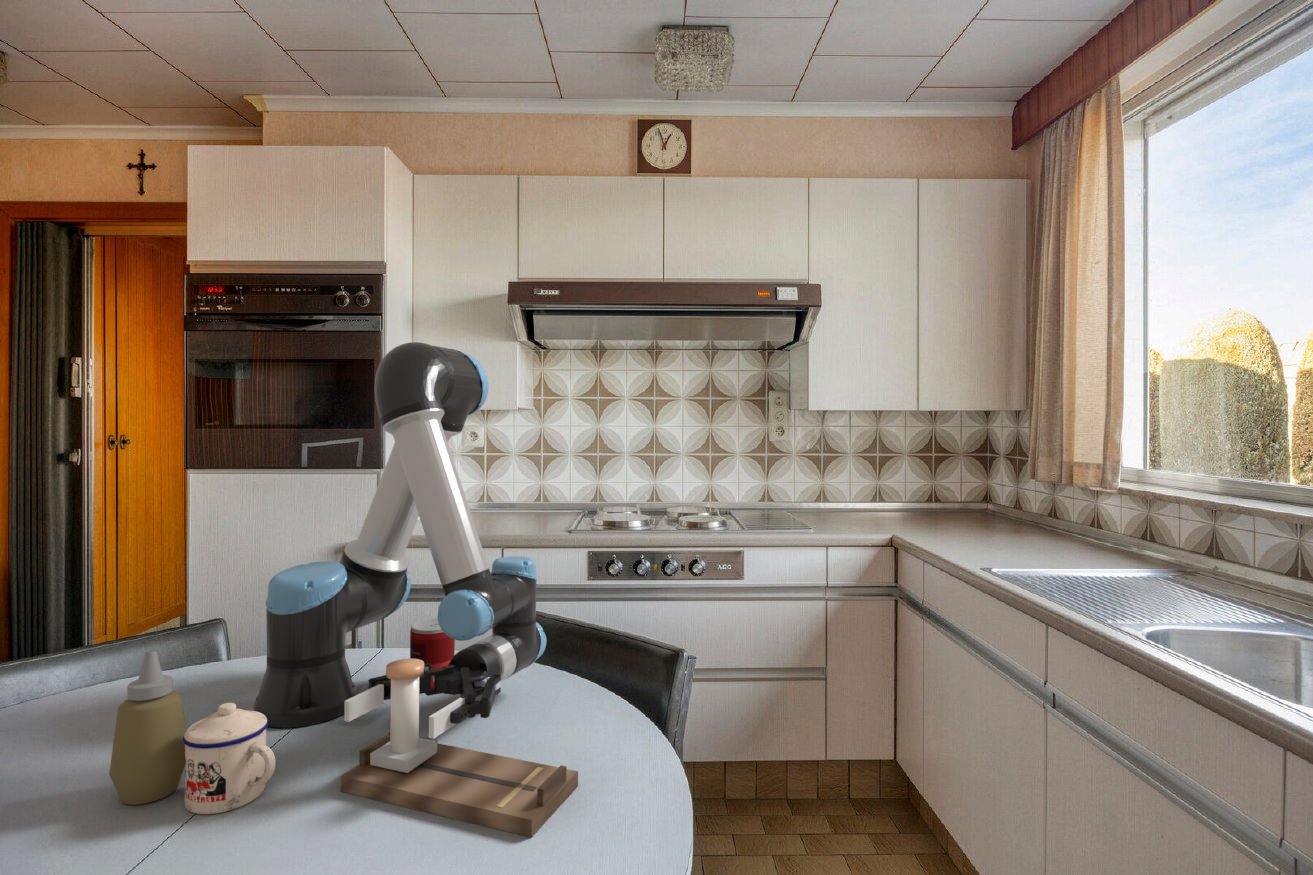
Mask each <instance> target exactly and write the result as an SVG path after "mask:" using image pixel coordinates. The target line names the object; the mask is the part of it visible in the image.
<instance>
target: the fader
mask: <svg viewBox="0 0 1313 875" xmlns="http://www.w3.org/2000/svg"><path fill="white" fill-rule="evenodd" d="M423 673H424V661H422V660H420V659H410V658H403V659H402V658H401V659H396V660H394V661H391V662H389V663H387V665H386V666H385V675H386V677H387V678H389V679H391V699H390V728H389V729H390V732H389V733H390V742H388V743H387V744H385V745H384V746H382V747H380V748H379V749H377V750H375V751H374V752H372V753H370V765H373V766H378V767H383V768H387V769H392V770H396V771H401V772H405V773H408V772H410V771H411V770H412V769H414V768H415V767H417V766H418V765H420V764H421V763H423V762H424V761H425V760H427V759H428V758H430V757H431V756H433V755H434V754H436V753H437V743H438V741H436V740H431V739H426V738H421V737H420V731H419V730H420V694H419V676H421V675H422V674H423Z"/></svg>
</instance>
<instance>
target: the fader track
mask: <svg viewBox="0 0 1313 875" xmlns="http://www.w3.org/2000/svg"><path fill="white" fill-rule="evenodd" d="M388 742H390V732H388V733H387V734H385V735H384V736H382V737H380V738H378V739H377V740H375V741H373V742H372V743H369V744H368V745H366V746H365V747H363V748H361V749H359V754H358V755H359V756H358V757H359V761H358V762H359V764H358V765H356V766H355V767H353V768H351V769H350V770H347V771H346V772H345V773H343V774H342V775H340V792H341V793H346V794H350V795H355V796H359V797H362V798H367V799H371V800H374V801H375V800H376V801H379V802H384V803H388V804H392V805H395V806H400V807H404V808H407V809H408V808H409V809H413V810H416V811H420V812H425V813H429V814H433V815H437V816H441V817H445V818H449V819H455V820H457V821H463V822H466V823H470V824H473V825H474V824H475V825H479V826H482V827H483V826H484V827H486V828H491V829H496V830H500V831H503V832H507V833H512V834H516V835H520V836H525V837H529V838H533V837H534V836H535V835H536V834H537V832H538V831H539V830H540V829H541V828H542V827H543V826H544V825H545V823H546V822H547V821H548V820H549V819H550V818H551V817H552V816H553V815H554V813H555V812H556V811H557V810H558V809H560V807H561V806H562V805H563V803H565V801H566V800H567V799H568V798H569V797H570V796H571V795H572V794H573V792H574V791H575V790H576V789H577V788H578V787H579V771H578V770H573V769H570V768H567V766H566V765H561V764H560V765H559V766H553V765H548V764H545V763H540V762H535V761H529V760H523V759H518V758H514V757H509V756H504V755H499V754H493V753H489V752H483V751H479V750H473V749H469V748H463V747H460V746H454V745H449V744H443V743H438V742H437V753H436V754H434V755H433V756H431V757H430V758H428V759H427V760H425V761H424V762H423V763H421V764H420V765H418V766H417V767H415V768H414V769H412V770H411V771H410V772H408V773H405V772H401V771H396V770H392V769H387V768H383V767H378V766H373V765H370V753H372V752H374V751H375V750H377V749H379V748H380V747H382V746H384V745H385V744H387V743H388ZM549 817H550V818H549Z"/></svg>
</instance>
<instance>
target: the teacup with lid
mask: <svg viewBox="0 0 1313 875" xmlns="http://www.w3.org/2000/svg"><path fill="white" fill-rule="evenodd" d="M267 728H268V720H267V718H266V716H265V715H264V714H262V713H260V712H256V711H254V710H246V709H242V708H237V704H236V703H234V702H226V703H222V704H221V705H219V706H218V707H217V711H216V712H214V713H212V714H211V715H209V716H207V717H205V718H202V719H200V720H198V721H196V722H194V723H192V724H191V725H189V727H188V728H187V729H186V732H185V734H184V737H183V742H184V744H185V768H184V807H185V809H186V810H187V811H189V812H191V813H194V814H198V815H212V814H214V815H215V814H216V815H217V814H220V813H226V812H229V811H233V810H236V809H238V808H239V809H240V808H241V807H243V806H245V805H248V804H249V803H252V802H253V801H255V800H256V799H257V798H259V797H260V796H261V795H262V794H263V792H264V791H265V788H266V785H267V784H266V783H267V782H268V781H269V780H270V779H271V778H272V776H274V775H273V774H274V772H275V770H276V763H277V762H276V756H275V754H274V752H273V750H272V749H271V748H270V747H269V746H267Z"/></svg>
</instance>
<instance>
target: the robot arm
mask: <svg viewBox="0 0 1313 875" xmlns="http://www.w3.org/2000/svg"><path fill="white" fill-rule="evenodd" d="M374 377H375V378H374V399H375V400H374V401H375V404H376V409H377V413H378V417H379V420H380V423H381V426H382V429H383V431H384V432H385V433H388V434H391V436H392V437H393V440H394V443H393V446H392V449H391V451H390V453H389V457H388V460H387V462H386V464H385V466H384V469H383V472H382V475H381V477H380V480H379V483H378V486H377V488H376V491H375V493H374V495H373V498H372V501H371V503H370V505H369V509H368V511H367V513H366V517H365V519H364V520H363V521H364V522H363V524H362V527H361V529H360V531H359V535H358V537H357V539H355V540H353V541H350V542H349V543H346V545H345V547H344V550H343V552H342V554H341V556H340V560H339V562H336V561H313V562H309V563H307V564H302V563H301V564H298V565H294V566H291V567H288V568H286V569H283V570H281V571H280V572H277V573H276V574H275V575H274V576H272V577H271V579H270V580H269V582H268V585H267V597H266V599H265V607H266V668H265V672H264V674H263V678H262V681H261V684H260V689H259V692H258V695H257V696H256V698H255V699H254V702H253V711H256V712H260V713H262V714H264V715H265V716H266V718H267V720H268V726H267V728H268V727H270V728H278V729H279V728H281V729H282V728H283V729H284V728H285V729H286V728H298V727H300V728H301V727H306V726H311V725H316V724H320V723H324V722H327V721H330V720H333V719H336V718H338V717H341V716H342V715H344V716H343V717H344V722H347V723H350V722H352V721H353V720H355V719H357V718H359V717H361V716H363V715H365V714H367V713H369V712H370V711H373V710H375V709H376V708H378V707H381V706H382V705H384V704H385V701H388V700H391V679H389V678H387V677H386V674H383V675H379V676H376V677H372V678H370V679H368V689H366V690H365V691H363V692H360V693H358V694H357V689H356V685H355V683H354V681H353V679H352V675H351V671H350V668H349V665H348V662H347V659H346V634H348V633H349V632H351V631H354V630H356V629H359V628H361V627H365V626H367V625H369V624H373V623H375V622H379V621H381V620H384V619H387V618H388V617H389V616H390V615H392V614H394V613H395V612H397V611H398V610H399V609H400V608H401V607H402V606H403V605H404V603H405V602H406V600H407V599H408V597H409V594H410V591H411V585H412V584H411V582H412V580H411V577H409V575H410V571H409V569H408V568H409V565H410V561H409V558H408V557H407V555H406V550H407V548H408V545H409V542H410V540H411V537H412V534H413V532H414V529H415V527H416V525H417V522H418V520H420V524H421V525H422V529H423V532H424V535H425V538H426V541H427V544H428V547H429V551H430V554H431V557H432V559H433V560H432V561H433V563H434V565H435V569H436V572H437V574H438V577H439V581H440V584H441V587H442V590H443V593H444V598H443V599H442V600H441V602H440V603H439V605H438V610H437V611H438V612H437V619H438V623H439V625H440V627H441V629H442V631H443V632H444V633H445V634H446V635H447V636H449V637H450V638H452V639H454V640H455V641H459V642H460V641H461V642H463V641H470V640H472V639H474V638H476V637H480V636H483V635H484V634H486V633H487V632H489V631H490V630H491V631H492V632H491V635H489V636H487V637H485V638H483V639H481V640H479V641H477V642H475V643H473V644H471V645H470V646H467V647H465V648H463V649H461V650H460V651H459V650H458V652H456V653H454V656H453V658H452V659H451V661H450V663H449V664H448V665H447V666H443V667H442V668H439V669H432V664H429V663H427V664H424V673H423V674H422V675H421V676H419V695H422V694H424V695H426V696H434V695H441V694H444V695H451V696H457V695H460V696H459V698H457V699H456V700H454V701H453V702H451V703H449V704H448V705H446V706H444V707H442V708H440V709H439V710H438V711H436V712H434V713H432V714H431V715H429V716H428V738H429V739H436V738H437V737H439V736H440V735H441V734H443V733H445V732H446V731H448V730H450V729H451V728H452V727H453V726H455V725H459V724H461V723H462V722H463V721H465V720H467V719H468V718H469V719H470V718H471V719H472V718H474V717H476V715H479V716H480V718H481V719H487V718H489V717H490V716H491V712H492V709H493V706H494V703H495V698H496V697H497V696H498V695H499V694H500V693H501V691H502V689H501V686H502V684H501V683H502V682H504V681H505V680H506V679H509V678H510V677H512V676H513V675H515V674H517V673H519V672H520V671H522V670H523V669H526V668H528V667H530V666H531V665H532V664H534V662H536V661H537V660H538V659H539V658H540V657H542V655H543V654H544V653H545V650H546V646H547V636H546V634H545V631H544V629H543V627H542V626H541V624H540V623H539V622H537V582H538V577H537V573H536V572H537V570H536V561H535V560H534V559H533V558H531V557H527V556H517V555H516V556H514V555H513V556H504V557H499V558H496V559H495V560H494V561H493V562H492V564H491V571H490V568H489V567H490V566H489V565H488V561H487V558H486V555H485V552H484V549H483V546H482V543H481V541H480V537H479V534H478V531H477V528H476V525H475V522H474V518H473V516H472V513H471V509H470V506H469V504H468V501H467V498H466V494H465V491H464V489H463V485H462V482H461V479H460V476H459V473H458V469H457V467H456V465H455V464H456V463H455V460H454V458H453V455H452V452H451V448H450V445H449V441H450V439H451V438H452V437H454V436H456V435H459V434H460V433H462V431H463V429H464V426H465V424H466V421H467V419H468V416H471V415H473V414H475V413H476V412H478V411H479V410H480V409H481V408H482V406H484V405H485V402H486V400H487V397H488V394H489V379H488V376H487V374H486V370H485V368H484V367H483V365H482V363H480V362H479V361H478V360H477V359H476V358H475V357H474V356H471V355H470V354H467V353H465V352H463V351H461V350H457V349H454V348H448V347H441V346H436V345H431V344H428V343H423V342H418V341H413V342H411V341H410V342H406V343H402V344H400V345H397V346H395V347H394V348H393V349H391V350H390V351H388V353H386V354H385V356H384V357H383V358H382V359H381V360H380V362H379V365H378V367H377V370H376V374H375V376H374ZM432 679H434V689H431V680H432ZM480 696H481V697H480ZM479 697H480V700H477V698H479Z"/></svg>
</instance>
